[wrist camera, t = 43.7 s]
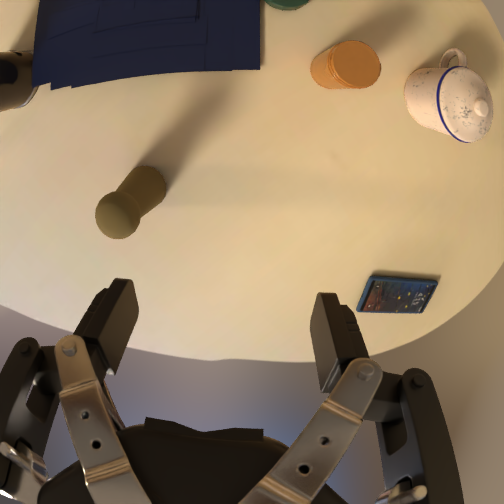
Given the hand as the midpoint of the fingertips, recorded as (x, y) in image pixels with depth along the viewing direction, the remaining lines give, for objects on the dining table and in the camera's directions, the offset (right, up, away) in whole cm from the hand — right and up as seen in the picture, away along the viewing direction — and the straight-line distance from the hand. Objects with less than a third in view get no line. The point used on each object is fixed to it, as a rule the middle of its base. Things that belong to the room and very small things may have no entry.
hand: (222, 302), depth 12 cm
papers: (-12, +34, +10) cm, 38 cm away
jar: (+10, +24, +16) cm, 30 cm away
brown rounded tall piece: (-13, +11, +24) cm, 30 cm away
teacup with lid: (+25, +24, +16) cm, 38 cm away
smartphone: (+27, -5, +33) cm, 43 cm away
